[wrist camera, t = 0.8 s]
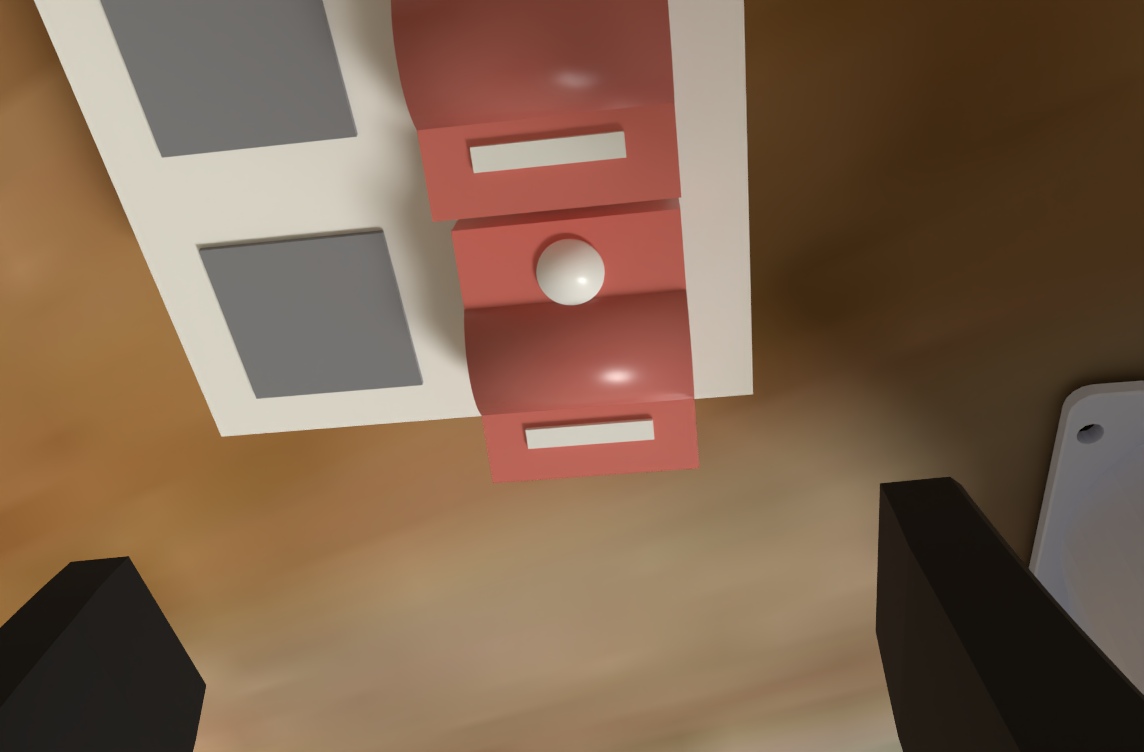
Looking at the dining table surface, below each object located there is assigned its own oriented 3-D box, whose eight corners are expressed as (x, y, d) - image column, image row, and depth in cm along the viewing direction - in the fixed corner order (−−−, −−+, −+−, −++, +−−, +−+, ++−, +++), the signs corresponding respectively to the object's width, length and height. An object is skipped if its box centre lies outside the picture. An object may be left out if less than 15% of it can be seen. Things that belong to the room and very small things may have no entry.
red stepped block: (676, 168, 13) (682, 205, 12) (453, 190, 14) (427, 231, 12) (651, -154, 12) (656, -167, 10) (403, -120, 12) (363, -128, 10)
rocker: (693, 418, 16) (701, 482, 14) (505, 433, 16) (489, 497, 14) (675, 180, 14) (681, 217, 13) (469, 200, 15) (445, 239, 13)
